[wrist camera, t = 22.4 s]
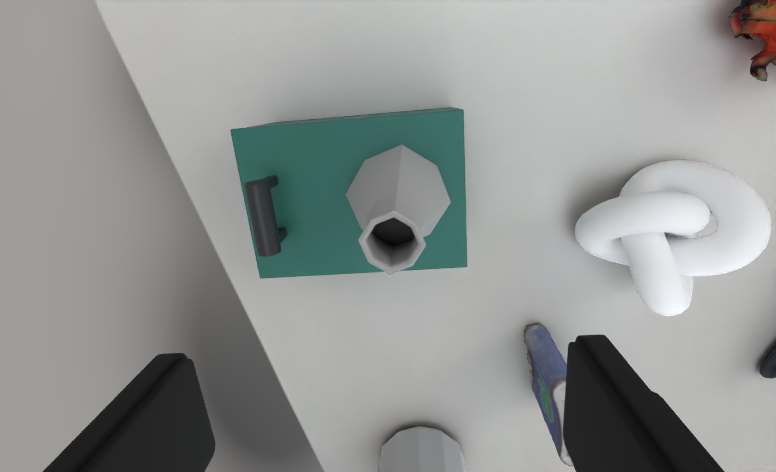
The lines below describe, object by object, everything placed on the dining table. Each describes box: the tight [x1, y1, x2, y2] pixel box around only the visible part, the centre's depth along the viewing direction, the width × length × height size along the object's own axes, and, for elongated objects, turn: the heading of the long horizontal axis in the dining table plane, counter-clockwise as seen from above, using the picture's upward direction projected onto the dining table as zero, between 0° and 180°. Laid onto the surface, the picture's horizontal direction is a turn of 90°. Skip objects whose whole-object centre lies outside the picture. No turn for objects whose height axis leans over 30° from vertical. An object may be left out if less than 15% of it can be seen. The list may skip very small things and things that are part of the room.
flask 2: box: [524, 324, 574, 466], centre depth 37 cm, size 9×3×11 cm, turn 13°
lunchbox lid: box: [231, 110, 467, 278], centre depth 28 cm, size 16×12×5 cm
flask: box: [345, 145, 451, 274], centre depth 25 cm, size 7×7×10 cm
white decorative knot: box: [575, 160, 772, 316], centre depth 33 cm, size 11×12×9 cm
